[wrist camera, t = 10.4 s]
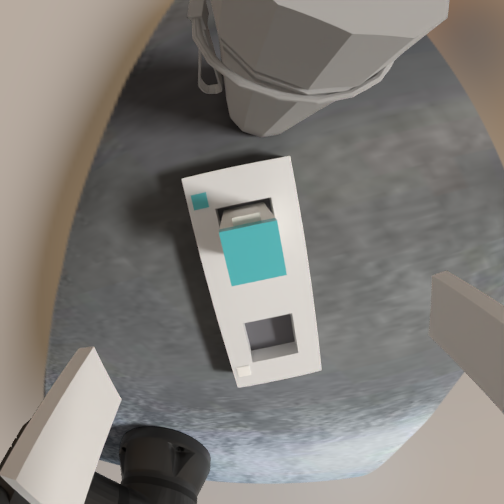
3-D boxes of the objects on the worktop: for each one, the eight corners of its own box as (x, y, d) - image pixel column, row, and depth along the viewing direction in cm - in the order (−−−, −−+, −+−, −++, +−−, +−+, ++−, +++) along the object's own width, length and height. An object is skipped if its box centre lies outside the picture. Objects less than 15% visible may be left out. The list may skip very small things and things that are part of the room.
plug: (232, 248, 32) (231, 286, 22) (222, 204, 30) (216, 223, 21) (270, 240, 32) (286, 274, 22) (262, 195, 30) (275, 211, 21)
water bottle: (300, 73, 27) (439, -80, 3) (296, 145, 30) (478, 107, 6) (210, 65, 27) (161, -127, 3) (203, 138, 29) (94, 55, 5)
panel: (237, 372, 37) (238, 388, 34) (186, 177, 30) (181, 178, 27) (316, 356, 37) (321, 370, 34) (284, 156, 30) (290, 156, 27)
